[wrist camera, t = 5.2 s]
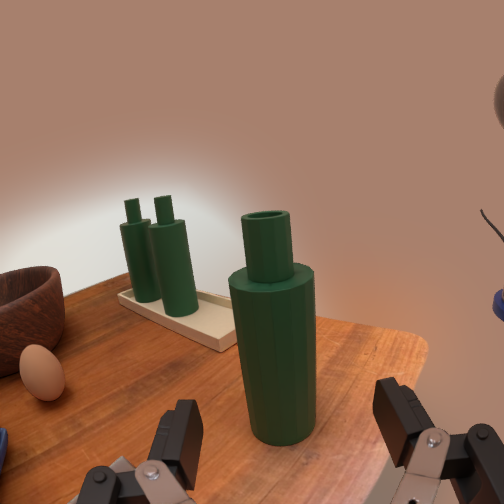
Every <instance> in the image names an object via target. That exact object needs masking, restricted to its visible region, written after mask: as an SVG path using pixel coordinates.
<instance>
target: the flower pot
mask: <svg viewBox="0 0 504 504" xmlns="http://www.w3.org/2000/svg"><path fill="white" fill-rule="evenodd" d="M7 445H8V434H7V431H6V429H4V428H0V474H1V470H2V466H3V462H4V458H5V454H6V450H7Z"/></svg>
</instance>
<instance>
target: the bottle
mask: <svg viewBox="0 0 504 504" xmlns="http://www.w3.org/2000/svg"><path fill="white" fill-rule="evenodd" d="M241 223H242V232H243V240H244V248H245V257H246V266H247V267H244V268H242V269H240V270H238V271H236V272H234V273H233V274H232V275H231V276H230V277H229V278H228V282H229V289H230V296H231V303H232V310H233V317H234V323H235V330H236V337H237V343H238V350H239V356H240V363H241V369H242V375H243V382H244V388H245V394H246V400H247V406H248V412H249V418H250V423H251V429H252V432H253V434H254V435H255V436H256V437H257V438H258V439H259V440H260V441H262V442H264V443H266V444H269V445H274V446H288V445H293V444H296V443H298V442H300V441H302V440H304V439H305V438H307V437H308V436H309V435H310V434H311V432H312V431H313V429H314V426H315V418H316V315H315V287H314V286H315V285H314V271H313V270H312V269H311V268H310V267H308V266H306V265H303V264H300V263H293V252H292V239H291V226H290V214H289V213H288V212H287V211H262V212H255V213H250V214H246V215H243V216H242V217H241Z"/></svg>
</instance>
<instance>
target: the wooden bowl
mask: <svg viewBox="0 0 504 504" xmlns="http://www.w3.org/2000/svg"><path fill="white" fill-rule="evenodd" d="M64 319H65V308H64V298H63V292H62V284H61V278H60V274H59V272H58V270H57V269H55V268H53V267H48V266H36V267H29V268H23V269H18V270H14V271H10V272H6V273H3V274H0V377H3V376H7V375H11V374H14V373H17V372H19V371H20V366H19V364H20V356H21V354H22V352H23V350H24V349H25V348H26V347H27V346H29V345H40V346H43V347H45V348H46V349H47V350H49V351H50V352H51V351H52V350H53V349H54V347H55V346H56V345H57V343H58V342H59V340H60V338H61V336H62V333H63V328H64Z"/></svg>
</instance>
